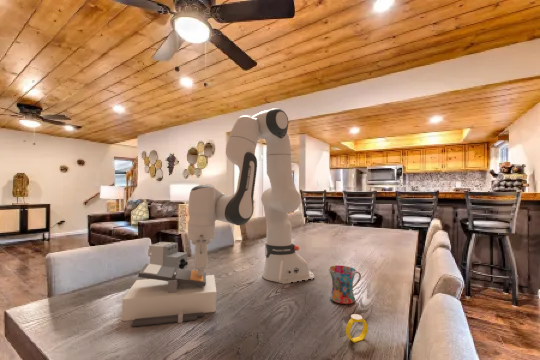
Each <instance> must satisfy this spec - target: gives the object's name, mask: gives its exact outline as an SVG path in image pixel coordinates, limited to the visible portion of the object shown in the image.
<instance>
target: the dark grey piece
mask: <svg viewBox="0 0 540 360" xmlns="http://www.w3.org/2000/svg"><path fill="white" fill-rule="evenodd" d="M204 316H205V313H204V312H198V313H188V314H183V311H179V314H178V315H168V316H158V317H148V318H138V319H134V320H132V322H131V327H133V328H134V327H142V326H151V325H152V326H153V325H161V324H169V323H170V324H171V323H177V324H181V323H184V322H189V321H190V322H191V321H196V320H197V319H198V318H202V317H203V318H204Z"/></svg>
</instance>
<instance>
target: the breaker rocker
mask: <svg viewBox="0 0 540 360" xmlns="http://www.w3.org/2000/svg"><path fill="white" fill-rule="evenodd" d="M206 275H207V273H206V272H204V271H203V276H198V270H193V269H187V270H185V269H179V268H177V267H176V268H172V267H165V266H161V265H154V264H150V263H145V264H144V265H143V267H142V269H141V270H140V271H139V272H138V275H137V277H138V278H142V279H147V278H148V279H155V280H163V281H169V280H177V283H184V284H191V285H198V286H205V285H206Z"/></svg>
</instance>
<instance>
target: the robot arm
mask: <svg viewBox="0 0 540 360" xmlns="http://www.w3.org/2000/svg"><path fill="white" fill-rule="evenodd" d="M288 129H289V117H288V115H287V113H286V112H285V111H284V110H283V109H281V108H271V109H267V110H263V111H259V113H255V114H254V115H241V116H239V117H238V118H237V119H236V121H235V123H234V124H233V126H232V129H231V131H230V133H229V137H228V139H227V143H226V145H225V146H226V147H225V155H226V157H227V159H228V160H229V161H230V163H232V164H234V165H235V166H237V167H238V171H239V174H238V179H237V187H236V191H235V192H234V193H233V194H225V193H224V192H221V191H219V190H218V189H217V188H216V187H215V186H214V185H212V184H204V185H203V184H201V185H196V186H194V187H192V188H191V190H190V192H189V197H188V206H187V207H188V208H187V209H188V210H187V211H188V216H189V217H188V222H187V239H188V240H190V241H191V244H192V245H193V246H194V266H193V267H194V269H195V270H197V271H198V276H203V272H204V270H205V269H207V267H208V245H210V244H211V243H212V240H213V239H215V236H216V221H218V222H219V221H220V222H225V223H230V224H232V225H235V226H243V225H246V224H247V223H248V222H249V221H250V220H251V219H252V217H253V215H254V214H253V213H254V208H255V207H254V194H255V193H254V192H255V186H256V185H255V184H256V179H257V172H258V171H257V170H258V159H257V156H256V154H255V153H256V148H257V144H258V141H259V140H264V141H265V143H266V150H265V151H266V152H265V154H266V157H265V158H266V159H265V160H266V162H265V163H266V176H267V177H268V179H269V182H270V187H269V188H267V189H265V190H264V191H263V192H262V194H261V198H260V199H261V200H260V201H261V203H262V206H263V211H264V216H265V222H266V243H265V248H264V255H265V256H264V257H265V261H264V266H263V270H262V274H261V277H262V278H263V279H265V280H267V281H271V282H276V283H280V284H285V285H286V284H291V282H293V283H297V281H299V282H303V281H302V280H305V281H309V280H308V279H311V280H314V279H315V274H314V273H313V271H311V270H310V269H309V268H310V267H309V264H308V262H307V261H306V260H305V259H304V257H302V256H301V255H300V254H298V253H297V252H299V250H300V246H299V245H295V244H293V243H292V241H293V239H292V237H293V236H292V235H293V234H292V233H293V232H292V231H293V228H292V227H293V226H292V223H291V222H290V218H289V215H288V213H292V212H295V211H297V210H298V209H299V207H300V205H301V202H302V197H301V194H300V193H299V192H298V190H297V187H296V185H295V181H294V177H293V169H292V168H293V167H292V147H291V141H290V136H289V134H288V131H289V130H288ZM313 278H314V279H313Z"/></svg>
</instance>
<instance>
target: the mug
mask: <svg viewBox="0 0 540 360" xmlns="http://www.w3.org/2000/svg"><path fill="white" fill-rule="evenodd" d="M328 271H329V274H330V277H331V284H332V285H331V292H330V294H329V298H330V300H331V301H333V302H335V303H338V304H341V305H349V304H353V303H354V302H355V301H356V297H355V295H354V289H353V288H355V287H356V286H357V285H358V284H359V282H360V281H361V277H362V275H361V273H360V272H359V271H357V269H355V268H354V267H351V266H346V265H339V264H338V265H331V266H329V267H328ZM356 274H358V279H357V280H356V282H355V283H354V280H355V276H356ZM353 283H354V284H353Z"/></svg>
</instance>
